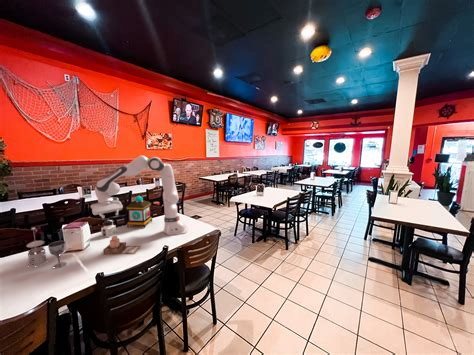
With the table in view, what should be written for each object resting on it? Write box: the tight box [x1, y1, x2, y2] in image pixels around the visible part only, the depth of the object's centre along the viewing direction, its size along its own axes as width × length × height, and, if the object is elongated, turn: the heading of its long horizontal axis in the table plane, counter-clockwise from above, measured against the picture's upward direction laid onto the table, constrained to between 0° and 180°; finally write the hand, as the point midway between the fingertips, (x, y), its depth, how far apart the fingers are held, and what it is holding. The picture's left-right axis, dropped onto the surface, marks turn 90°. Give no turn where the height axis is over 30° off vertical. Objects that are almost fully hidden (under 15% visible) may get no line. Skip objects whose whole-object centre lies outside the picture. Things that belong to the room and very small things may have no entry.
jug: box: [109, 235, 121, 249], centre depth 140 cm, size 8×6×10 cm
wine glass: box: [47, 240, 67, 269], centre depth 123 cm, size 8×8×15 cm
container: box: [100, 219, 117, 238], centre depth 167 cm, size 8×8×13 cm
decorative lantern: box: [126, 195, 153, 229], centre depth 189 cm, size 20×20×30 cm
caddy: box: [102, 241, 142, 256], centre depth 142 cm, size 22×12×4 cm, turn 94°
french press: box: [26, 227, 49, 268], centre depth 124 cm, size 10×12×25 cm
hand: (110, 216), depth 148 cm, fingers open, 8 cm apart
